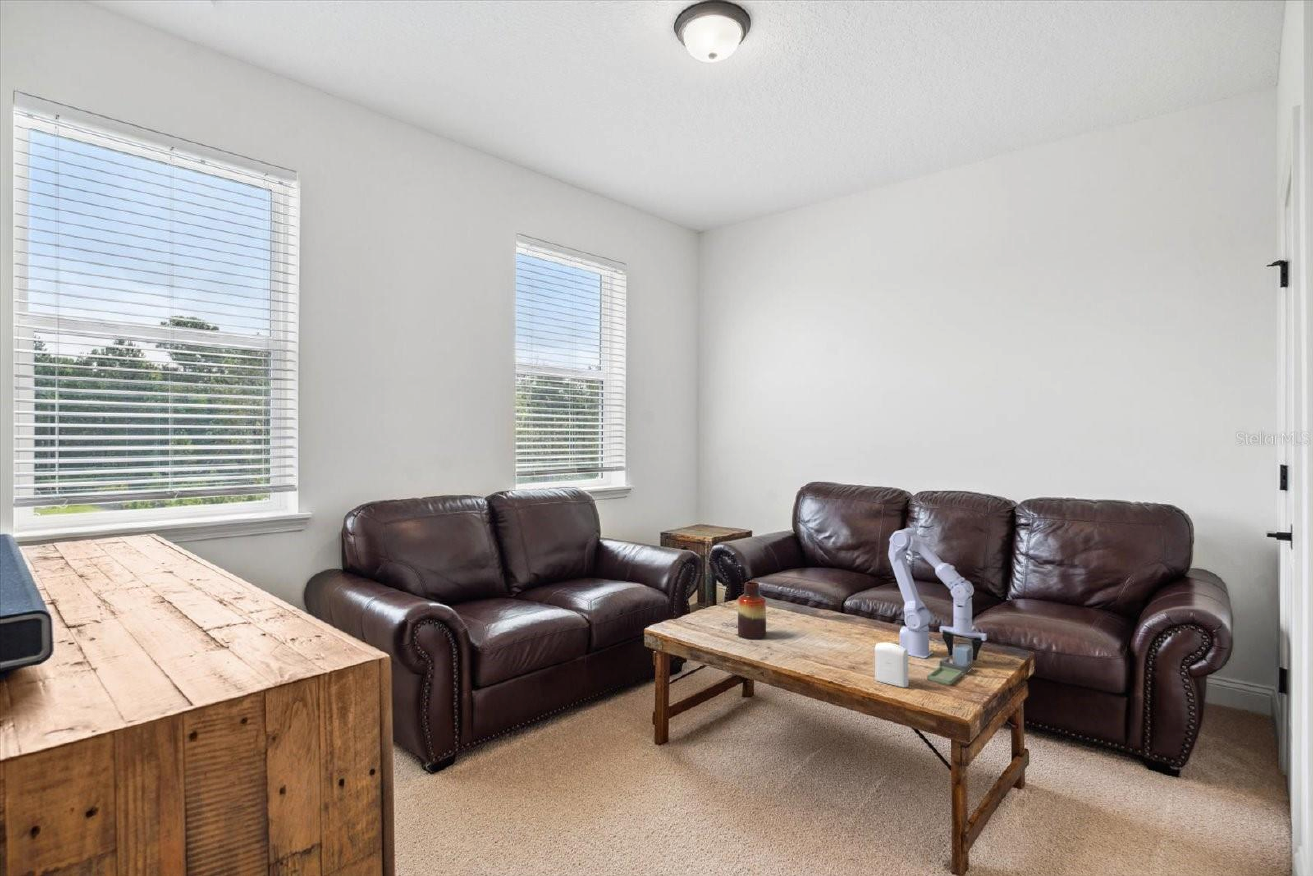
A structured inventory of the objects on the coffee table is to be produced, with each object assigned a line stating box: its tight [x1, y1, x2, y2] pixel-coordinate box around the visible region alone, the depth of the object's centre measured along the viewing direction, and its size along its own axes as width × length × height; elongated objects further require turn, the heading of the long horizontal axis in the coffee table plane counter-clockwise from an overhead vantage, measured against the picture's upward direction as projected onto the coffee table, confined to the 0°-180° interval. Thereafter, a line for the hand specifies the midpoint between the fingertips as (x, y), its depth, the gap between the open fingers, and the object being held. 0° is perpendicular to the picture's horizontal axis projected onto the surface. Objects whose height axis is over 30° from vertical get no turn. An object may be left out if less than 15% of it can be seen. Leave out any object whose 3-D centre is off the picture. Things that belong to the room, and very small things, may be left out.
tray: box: [926, 665, 963, 687], centre depth 210 cm, size 7×12×2 cm, turn 138°
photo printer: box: [874, 641, 909, 689], centre depth 206 cm, size 10×4×12 cm, turn 47°
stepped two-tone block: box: [952, 643, 973, 666], centre depth 224 cm, size 4×9×6 cm, turn 138°
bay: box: [939, 656, 972, 675], centre depth 218 cm, size 8×6×2 cm
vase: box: [737, 581, 767, 641], centre depth 255 cm, size 11×11×20 cm
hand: (962, 657), depth 223 cm, fingers open, 7 cm apart
